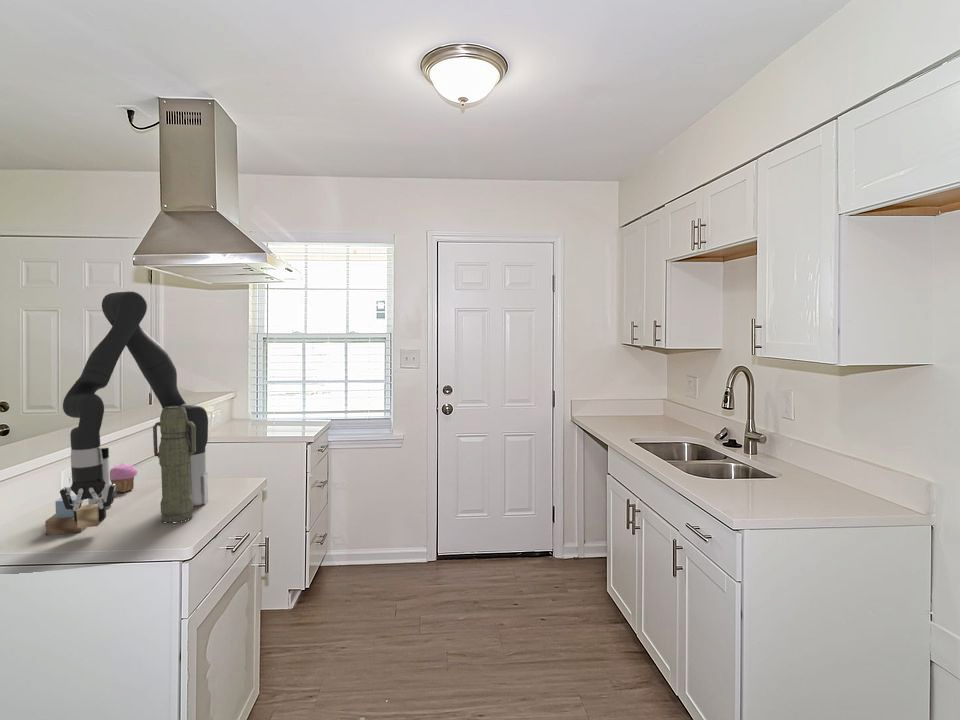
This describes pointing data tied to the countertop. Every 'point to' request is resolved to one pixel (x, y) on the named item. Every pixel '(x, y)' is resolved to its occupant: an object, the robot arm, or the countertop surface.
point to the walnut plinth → (61, 525)
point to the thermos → (175, 463)
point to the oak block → (88, 516)
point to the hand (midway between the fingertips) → (90, 521)
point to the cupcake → (123, 477)
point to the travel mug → (104, 475)
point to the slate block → (61, 510)
